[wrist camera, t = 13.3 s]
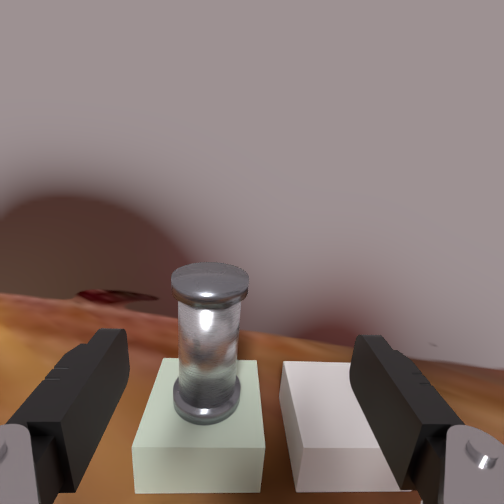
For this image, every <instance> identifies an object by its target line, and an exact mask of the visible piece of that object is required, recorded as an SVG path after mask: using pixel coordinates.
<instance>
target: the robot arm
mask: <svg viewBox="0 0 504 504" xmlns="http://www.w3.org/2000/svg"><path fill="white" fill-rule="evenodd" d="M129 371H130V365H129V354H128V344H127V334H126V331H125V329H104V328H101V329H99V330H98V331H97V332H96V333H95V335H94V336H93V337H92V339H91V340H90V341H89V342H88V344H80V345H78V346H77V347H75V348H74V349H72V350H71V351H69V352H68V353H66V354H65V355H64V356H63V357H62V358H61V359H60V361H59V362H58V363H57V364H56V365H55V367H54V369H52V370H51V371H50V372H49V374H48V375H47V376H46V377H45V380H43V381H42V382H41V383H40V384H39V385H38V386H37V388H36V389H35V390H34V391H33V392H32V393H31V395H30V396H29V397H28V398H27V399H26V401H25V402H24V403H23V404H22V405H21V406H20V408H19V409H18V410H17V411H16V412H15V413H14V415H13V416H12V417H11V418H10V419H9V420H8V422H7V423H6V424H5V425H1V426H0V504H53V502H54V500H55V498H56V497H57V495H58V493H75V492H76V490H77V488H78V486H79V484H80V482H81V480H82V478H83V475H84V473H85V471H86V469H87V467H88V465H89V463H90V461H91V459H92V457H93V454H94V452H95V450H96V448H97V446H98V444H99V442H100V440H101V438H102V436H103V434H104V431H105V429H106V427H107V425H108V423H109V421H110V419H111V417H112V415H113V413H114V410H115V408H116V406H117V404H118V402H119V400H120V398H121V396H122V394H123V392H124V389H125V387H126V385H127V382H128V378H129ZM349 379H350V385H351V388H352V390H353V393H354V395H355V397H356V399H357V401H358V403H359V405H360V407H361V409H362V411H363V413H364V415H365V417H366V420H367V422H368V424H369V426H370V428H371V430H372V432H373V434H374V436H375V438H376V440H377V442H378V445H379V447H380V449H381V451H382V453H383V455H384V457H385V459H386V461H387V463H388V465H389V467H390V470H391V472H392V474H393V476H394V478H395V480H396V482H397V484H398V486H399V488H400V490H417V491H418V493H419V495H420V497H421V499H422V501H421V503H420V504H504V445H503V444H501V443H500V442H499V441H498V440H496V439H495V438H494V437H492V436H490V435H489V434H487V433H485V432H483V431H481V430H479V429H477V428H474V427H471V426H466V425H465V424H464V423H463V422H462V421H461V419H460V418H459V417H458V416H457V415H456V413H455V412H454V411H453V410H452V409H451V407H450V406H449V405H448V404H447V403H446V401H445V400H444V399H443V398H442V397H441V395H440V394H439V393H438V392H437V391H436V389H435V388H434V387H433V386H431V385H430V382H429V381H428V380H427V379H426V377H425V376H424V375H422V373H421V371H420V370H419V369H418V368H417V366H416V365H415V364H414V363H413V362H412V361H411V360H410V359H409V358H407V357H406V356H404V355H403V354H402V353H400V352H399V351H397V350H393V349H392V348H391V347H390V345H389V344H388V343H387V341H386V340H385V339H384V338H383V337H382V336H381V335H358V336H357V338H356V341H355V345H354V350H353V355H352V360H351V365H350V370H349Z"/></svg>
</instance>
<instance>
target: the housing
mask: <svg viewBox="0 0 504 504" xmlns="http://www.w3.org/2000/svg"><path fill="white" fill-rule="evenodd" d="M248 284H249V276H248V274H247V273H246V272H245V271H244V270H242V269H241V268H238V267H236V266H233V265H229V264H224V263H216V262H203V263H194V264H189V265H185V266H182V267H180V268H178V269H177V270H175V271H174V272H173V273H172V277H171V286H172V295H173V297H174V298H175V299H176V300H178V330H179V376H178V378H177V379H176V381H175V383H174V386H173V405H174V409H175V411H176V413H177V414H178V415H179V416H180V417H181V418H182V419H183V420H185V421H187V422H189V423H192V424H195V425H203V426H205V425H213V424H217V423H220V422H222V421H224V420H226V419H227V418H229V417H230V416H231V415H232V414H233V413H234V412H235V411H236V409H237V407H238V405H239V401H240V389H241V386H240V381H239V378H238V377H237V375H236V367H237V352H238V338H239V322H240V308H241V301H242V300H244V299H245V298H246V296H247V294H248Z"/></svg>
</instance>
